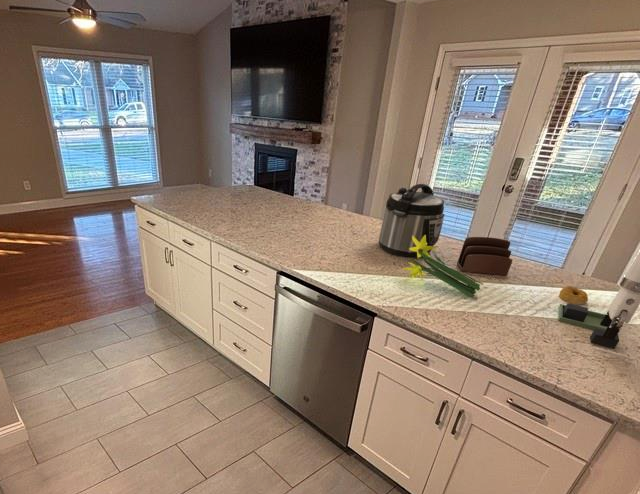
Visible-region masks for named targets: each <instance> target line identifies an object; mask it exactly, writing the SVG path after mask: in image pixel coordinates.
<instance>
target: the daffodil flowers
mask: <svg viewBox="0 0 640 494" xmlns="http://www.w3.org/2000/svg"><path fill="white" fill-rule="evenodd" d="M412 239H413V242H414V243H415V245H416V246H417V247H412V248H409V249H410V250H411V251H415V252H417V259H416V260H415V259H411V261H412V262H409V261H407V263H408V264H409V265H410V266H411V267H409V266H408V267H403V268H402V270H405V271H410V273H409V276H410V278H411V279H415V278H416V277H417V276H419V278H420V280H421V282H422V285H423V286H425V283H424V279H423V276H424V277H429V276H430V277H435V278H437V279H438V280H441V281H443V282H444V283H445V284H447V285H449V286H450V287H453V288H454V289H456V290H457V291H459V292H460V293H463V294H465V295H466V296H468V297H470V298H472V299H474V298H475V296H476V295H475V294H476V293H477V292H476V291H479V290H480V289H481V285H482V286H483V285H484V283H483V282H481V281H479V280H477V279H476V278H473V277H471V276H470V275H467V274H465V273H463V272H462V271H459V270H457V269H455V268H453V267H451V266H449V265H447V264H446V263H445V262H444V261H443V260H442V259H440V257H438V255H437V253H436V252H435V249H438V248H439V247H440V246H439V245H434V246H426V245H427V242H426V235H424V236H423V238H422V239H421V241H420V243H419V241H418V240H417V239H416V238H415V237H414V236H412ZM431 249H432V250H431ZM427 250H431V251H432V254H433V256H434V258H435V259H434V258H433V257H432V256H431V255H430V252H429V253H428V252H427ZM421 257H422V258H421ZM418 261H424V262H425V263H426V265H428V266H429V267H427V266H425V265H424V264H421V263H420V262H418Z"/></svg>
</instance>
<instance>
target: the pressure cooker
mask: <svg viewBox="0 0 640 494" xmlns="http://www.w3.org/2000/svg"><path fill="white" fill-rule="evenodd" d="M420 189H421V191H418V190H420ZM433 191H434V190H433V188H431V186H429V185H427V184H425V183H417V184H414V185H413V186H411V187H410V188H409V189H407V188H406V187H400V188H399V189H398V191H397V192H393V193H391V194H389V196H388V199H387V200H386V204H385V207H384V212H383V217H382V221H381V227H380V231H379V235H378V245H379V248H381V250H383V251H384V252H387V253H390V254H392V255H396V256H400V257H409V258H410V257H411V258H416V257H417V252H415V251H411V250H410V249H409V248H412V247H417V246H416V245H415V243H414V242H413V239H412V236H414V237H415V238H416V239H417V240H418V241H419V243H420V241H421V239H422V238H423V236H424V235H426V242H427V245H426V246H436V244H437V243H438V241H439V239H440V235H441V231H442V227H443V223H444V219H445V213H444V211H445V206H444V205H445V200H443V199H442V198H440V197H438V196H435V193H434V192H433ZM432 250H433V249H431V250H427V252H428V253H429V254H430V253H431V251H432ZM417 258H418V257H417Z"/></svg>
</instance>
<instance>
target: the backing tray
mask: <svg viewBox="0 0 640 494" xmlns="http://www.w3.org/2000/svg"><path fill="white" fill-rule="evenodd" d="M566 305H567V304H563V303H560V304H559V306H558V309H557V310H558V311H557V312H558V315H557V320H558V321H557V322H561V323H564V324H568V325H572V326H576V327H579V328H583V329H587V330H592V331H594V329H595V328H596V329H600V330H604V331H605V330H606V328H607V327H605V326H601V325H600V323H601V321H602V320H603V318H604V316H605V315H606V313H605V314H604V313H602V312H597V311H594V310H593V311H592V310H588V314H587V316H586V318H585V320H584V322H580V321H576V320H572V319H568V318H563V311H564V309H565V307H566ZM614 323H616V321H615V322H614Z"/></svg>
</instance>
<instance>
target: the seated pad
mask: <svg viewBox="0 0 640 494" xmlns="http://www.w3.org/2000/svg"><path fill="white" fill-rule="evenodd" d="M565 305H566V307H565V309H564V311H563V318H568V319H572V320H576V321H580V322H584V320H585V318H586V316H587V314H588V311H589V307H586V306H582V305H574V304H571V303H568V302H566V304H565Z"/></svg>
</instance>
